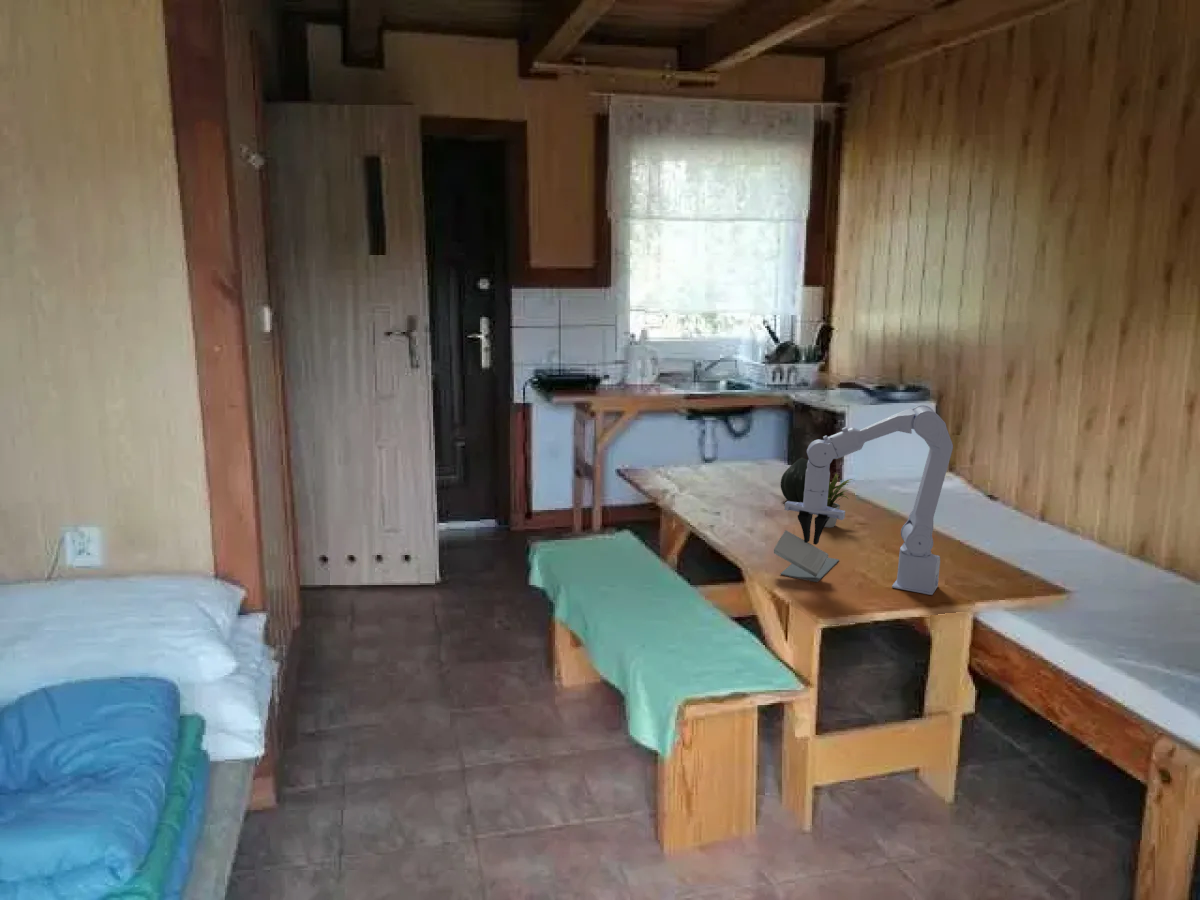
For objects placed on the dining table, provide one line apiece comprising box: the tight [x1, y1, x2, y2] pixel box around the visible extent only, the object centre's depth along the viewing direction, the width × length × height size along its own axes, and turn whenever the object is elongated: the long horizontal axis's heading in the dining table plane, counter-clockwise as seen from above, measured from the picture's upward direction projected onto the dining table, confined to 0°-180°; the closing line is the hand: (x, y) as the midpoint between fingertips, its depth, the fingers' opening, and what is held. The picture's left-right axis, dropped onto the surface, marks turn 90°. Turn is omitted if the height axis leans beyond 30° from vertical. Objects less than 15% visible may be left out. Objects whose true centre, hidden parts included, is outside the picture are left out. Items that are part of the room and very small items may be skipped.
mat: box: [779, 557, 840, 583], centre depth 239 cm, size 10×20×1 cm, turn 151°
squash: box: [780, 457, 808, 503], centre depth 303 cm, size 14×15×15 cm
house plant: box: [816, 472, 854, 528], centre depth 275 cm, size 14×14×16 cm
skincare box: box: [773, 529, 829, 577], centre depth 231 cm, size 6×4×12 cm
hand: (811, 542), depth 230 cm, fingers closed
